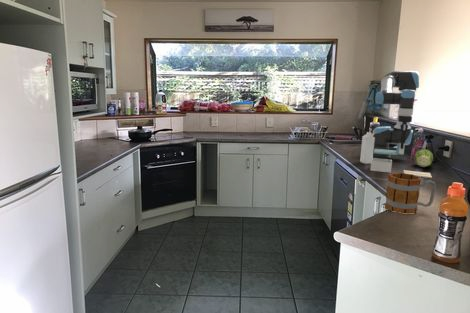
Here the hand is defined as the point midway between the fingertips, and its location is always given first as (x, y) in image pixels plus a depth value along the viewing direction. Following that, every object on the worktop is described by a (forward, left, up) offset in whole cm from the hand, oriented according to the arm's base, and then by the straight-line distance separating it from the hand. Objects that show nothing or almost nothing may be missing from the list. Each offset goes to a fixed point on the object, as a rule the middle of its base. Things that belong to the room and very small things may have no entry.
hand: (400, 152), depth 217 cm
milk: (-19, -21, -13) cm, 31 cm away
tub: (0, -11, -13) cm, 17 cm away
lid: (0, -7, -1) cm, 7 cm away
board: (0, +10, -13) cm, 17 cm away
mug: (+73, +2, -13) cm, 74 cm away
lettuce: (-27, +15, -13) cm, 34 cm away
